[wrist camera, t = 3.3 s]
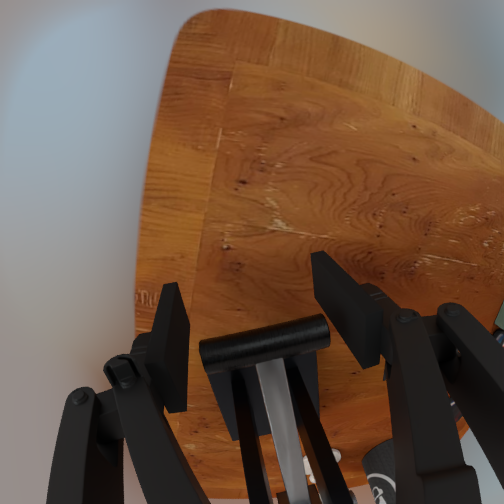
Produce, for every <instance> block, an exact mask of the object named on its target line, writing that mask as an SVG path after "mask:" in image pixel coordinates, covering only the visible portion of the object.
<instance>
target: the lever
mask: <svg viewBox="0 0 504 504" xmlns="http://www.w3.org/2000/svg"><path fill="white" fill-rule="evenodd" d="M330 342H331V339H330V331H329V327H328V324H327V321H326V319H325V317H324V316H323V314H316V315H312V316H308V317H304V318H300V319H296V320H292V321H288V322H284V323H279V324H275V325H271V326H266V327H262V328H258V329H253V330H248V331H244V332H239V333H234V334H229V335H225V336H220V337H215V338H209V339H204V340H201V341H200V344H199V346H200V354H201V359H202V363H203V367H204V370H205V372H206V373H207V374H208V375H210V374H215V373H221V372H226V371H231V370H236V369H241V368H246V367H251V366H255V365H256V370H257V374H258V378H259V383H260V387H261V391H262V396H263V400H264V404H265V408H266V412H267V417H268V421H269V425H270V429H271V433H272V437H273V442H274V446H275V450H276V454H277V458H278V462H279V466H280V470H281V474H282V478H283V482H284V486H285V490H286V491H284V492H280V493H276V495H277V499H278V504H323V503H322V501H321V499H320V496H319V494H318V491H317V489H316V486H315V484H312V485H309V486H308V483H307V478H306V473H305V467H304V462H303V457H302V452H301V447H300V441H299V436H298V431H297V426H296V421H295V416H294V411H293V406H292V401H291V396H290V390H289V385H288V380H287V375H286V370H285V365H284V360H283V359H285V358H289V357H293V356H297V355H301V354H305V353H309V352H313V351H316V350H320V349H323V348H327V347H329V346H330Z"/></svg>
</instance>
